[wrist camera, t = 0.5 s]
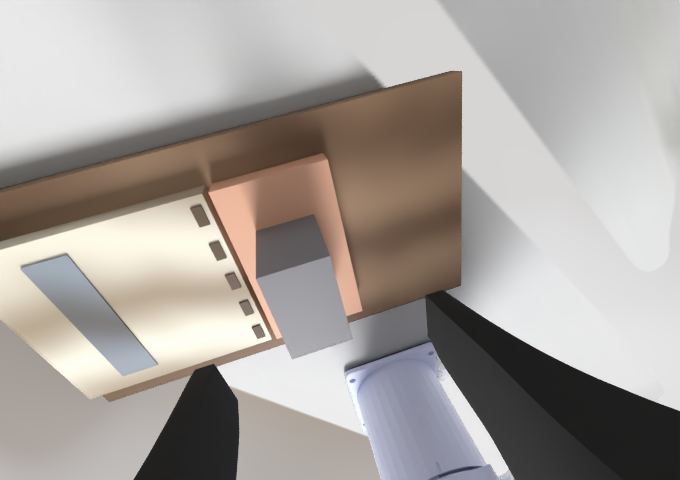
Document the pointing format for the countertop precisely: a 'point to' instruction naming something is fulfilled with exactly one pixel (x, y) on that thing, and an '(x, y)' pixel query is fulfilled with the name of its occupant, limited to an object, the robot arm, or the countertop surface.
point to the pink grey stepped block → (293, 250)
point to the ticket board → (224, 236)
